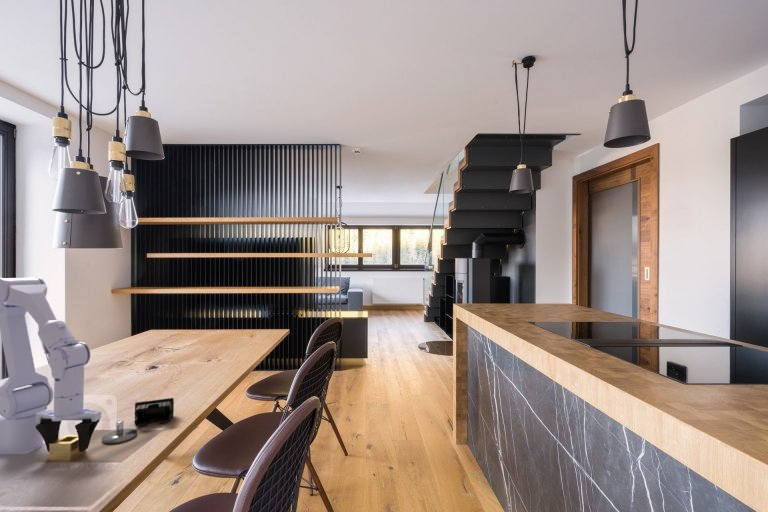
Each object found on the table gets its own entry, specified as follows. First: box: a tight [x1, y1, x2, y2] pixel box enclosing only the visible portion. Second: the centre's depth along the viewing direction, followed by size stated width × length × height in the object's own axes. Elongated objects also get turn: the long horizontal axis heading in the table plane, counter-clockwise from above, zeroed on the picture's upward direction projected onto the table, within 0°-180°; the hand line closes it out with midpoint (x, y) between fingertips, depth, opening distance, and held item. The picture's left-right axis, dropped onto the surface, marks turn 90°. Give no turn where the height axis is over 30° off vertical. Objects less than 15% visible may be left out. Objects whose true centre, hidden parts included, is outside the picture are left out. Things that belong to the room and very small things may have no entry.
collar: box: [48, 434, 86, 461], centre depth 97 cm, size 5×5×4 cm
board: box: [36, 429, 164, 463], centre depth 103 cm, size 20×18×1 cm
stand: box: [101, 420, 138, 444], centre depth 107 cm, size 8×8×4 cm
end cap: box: [133, 397, 175, 427], centre depth 118 cm, size 10×7×7 cm
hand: (68, 449), depth 97 cm, fingers open, 7 cm apart
